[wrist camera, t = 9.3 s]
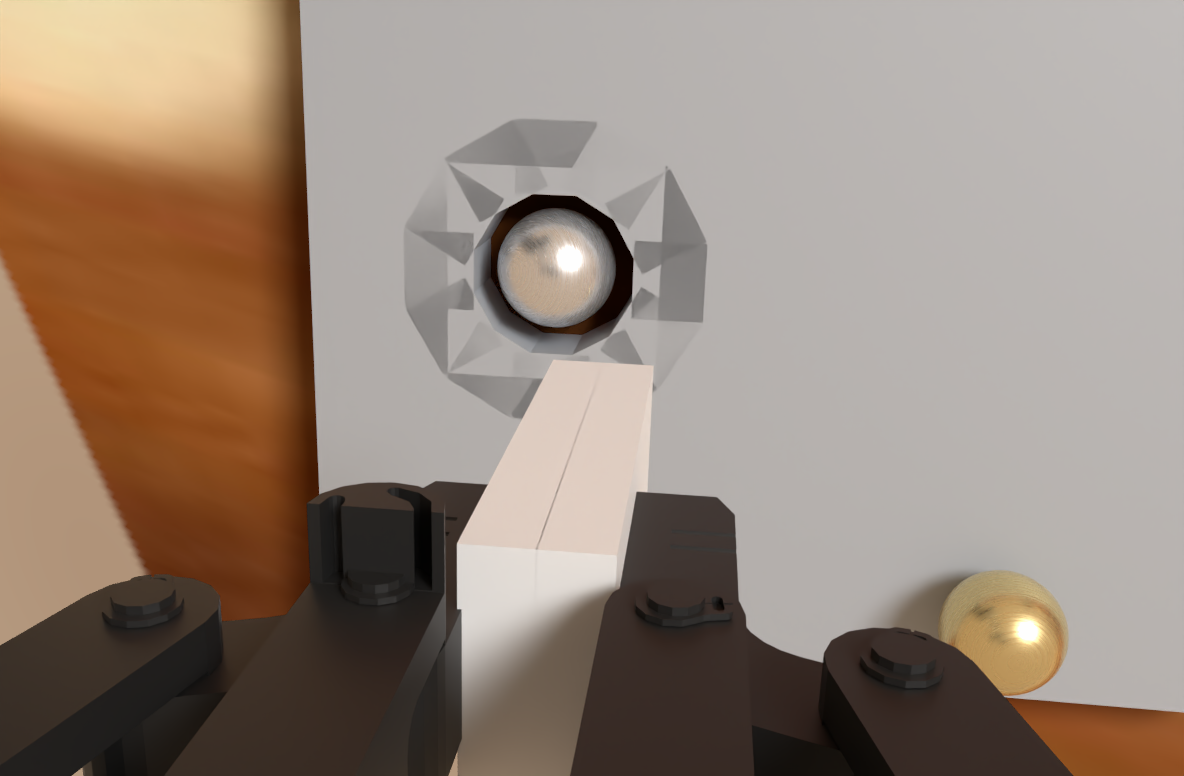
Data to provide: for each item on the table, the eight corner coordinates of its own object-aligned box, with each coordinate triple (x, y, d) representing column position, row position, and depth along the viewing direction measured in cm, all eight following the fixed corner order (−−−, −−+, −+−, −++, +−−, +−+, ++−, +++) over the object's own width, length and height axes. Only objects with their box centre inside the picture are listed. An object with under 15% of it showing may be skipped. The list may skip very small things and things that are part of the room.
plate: (350, 603, 38) (325, 639, 35) (324, -182, 31) (291, -202, 28) (1219, 673, 35) (1256, 718, 33) (1398, -168, 28) (1462, -190, 26)
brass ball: (921, 650, 33) (943, 714, 30) (935, 545, 32) (959, 599, 29) (1039, 660, 33) (1074, 726, 30) (1057, 554, 32) (1095, 610, 29)
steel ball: (556, 315, 35) (471, 324, 32) (559, 204, 34) (473, 204, 32) (638, 329, 32) (553, 339, 30) (643, 210, 32) (556, 211, 29)
